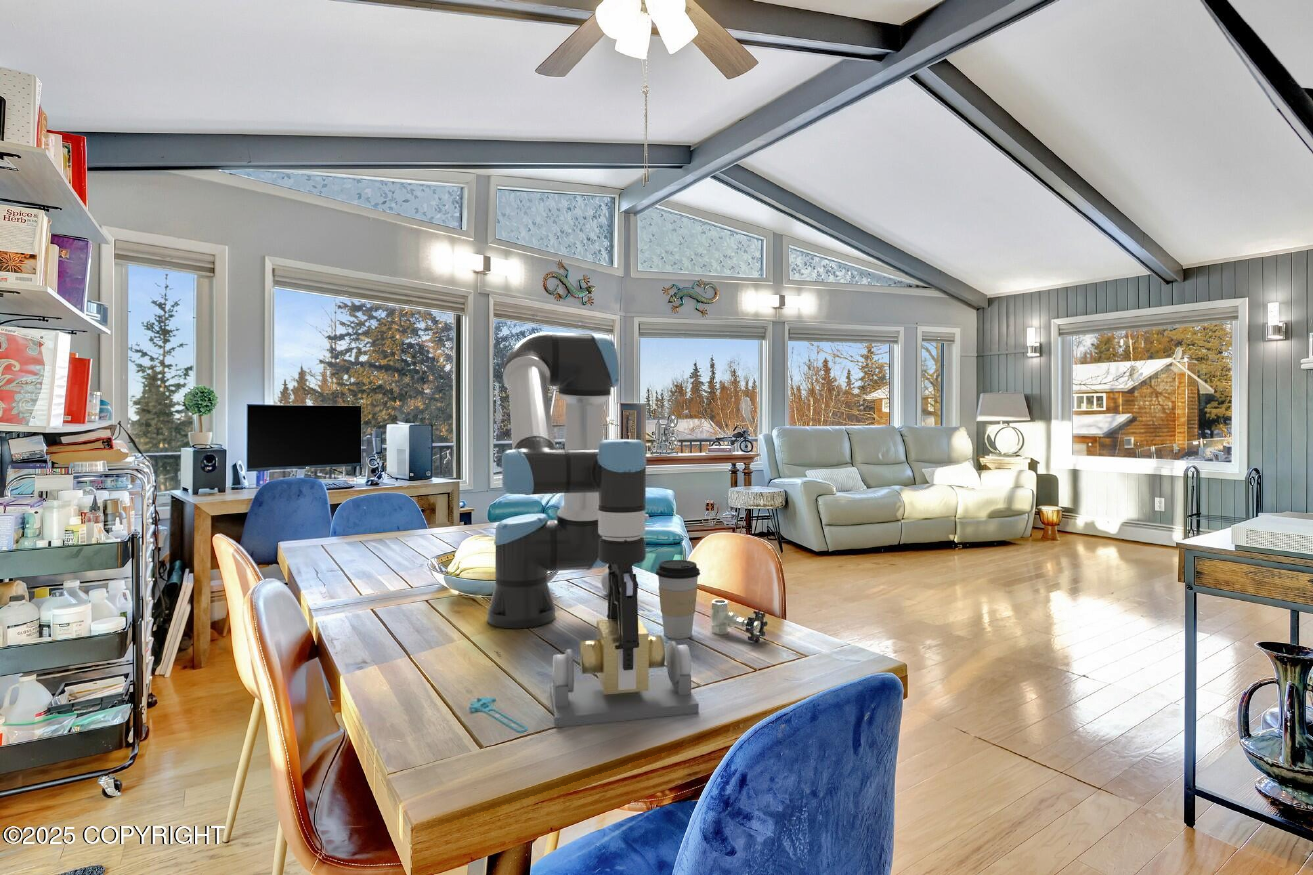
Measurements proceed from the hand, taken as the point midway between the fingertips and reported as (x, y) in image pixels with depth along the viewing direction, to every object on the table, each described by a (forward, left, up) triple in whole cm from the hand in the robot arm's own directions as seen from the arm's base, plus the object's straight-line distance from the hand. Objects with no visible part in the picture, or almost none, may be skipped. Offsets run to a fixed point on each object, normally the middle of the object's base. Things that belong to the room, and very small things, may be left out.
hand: (622, 677), depth 103 cm
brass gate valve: (0, 0, -1) cm, 1 cm away
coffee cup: (-30, +17, -4) cm, 35 cm away
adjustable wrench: (0, -19, -5) cm, 20 cm away
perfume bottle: (-64, +10, -4) cm, 65 cm away
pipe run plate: (0, 0, -4) cm, 4 cm away
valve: (-27, +29, -5) cm, 39 cm away
